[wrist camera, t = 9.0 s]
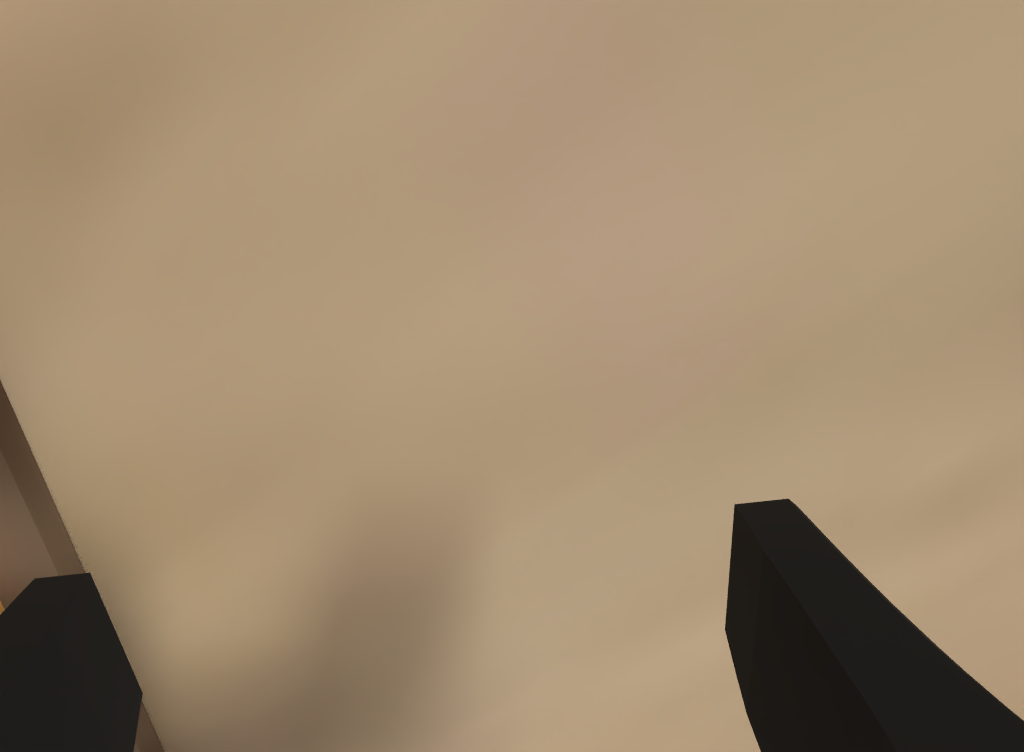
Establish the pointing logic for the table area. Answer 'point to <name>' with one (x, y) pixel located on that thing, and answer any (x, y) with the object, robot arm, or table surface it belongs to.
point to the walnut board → (36, 533)
